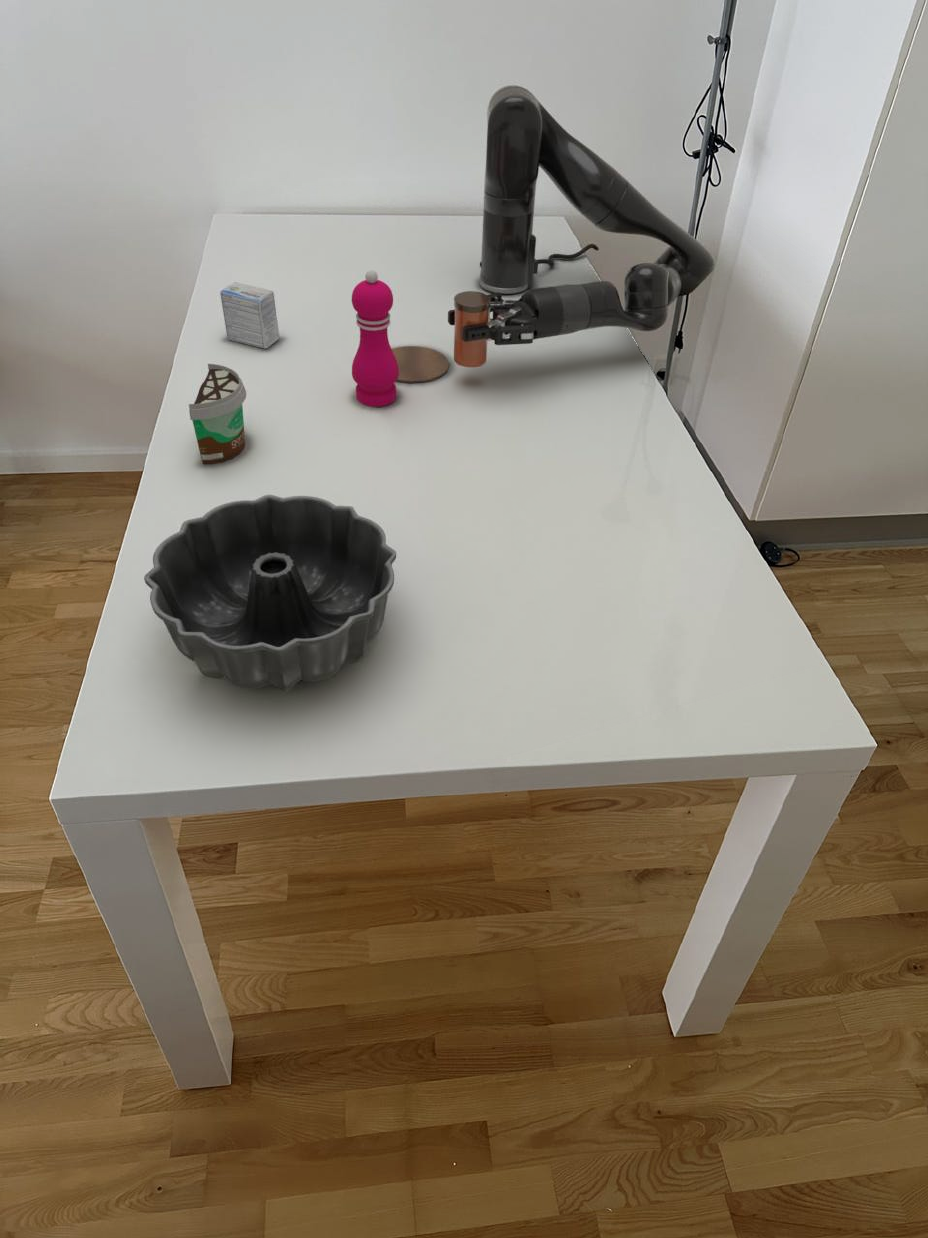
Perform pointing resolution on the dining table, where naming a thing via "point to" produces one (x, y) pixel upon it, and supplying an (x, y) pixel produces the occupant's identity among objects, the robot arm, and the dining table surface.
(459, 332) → the spice jar
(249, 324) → the medicine box
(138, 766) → the dining table surface
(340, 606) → the bundt pan
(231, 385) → the food container
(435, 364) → the cork coaster
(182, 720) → the dining table surface
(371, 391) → the pepper mill
